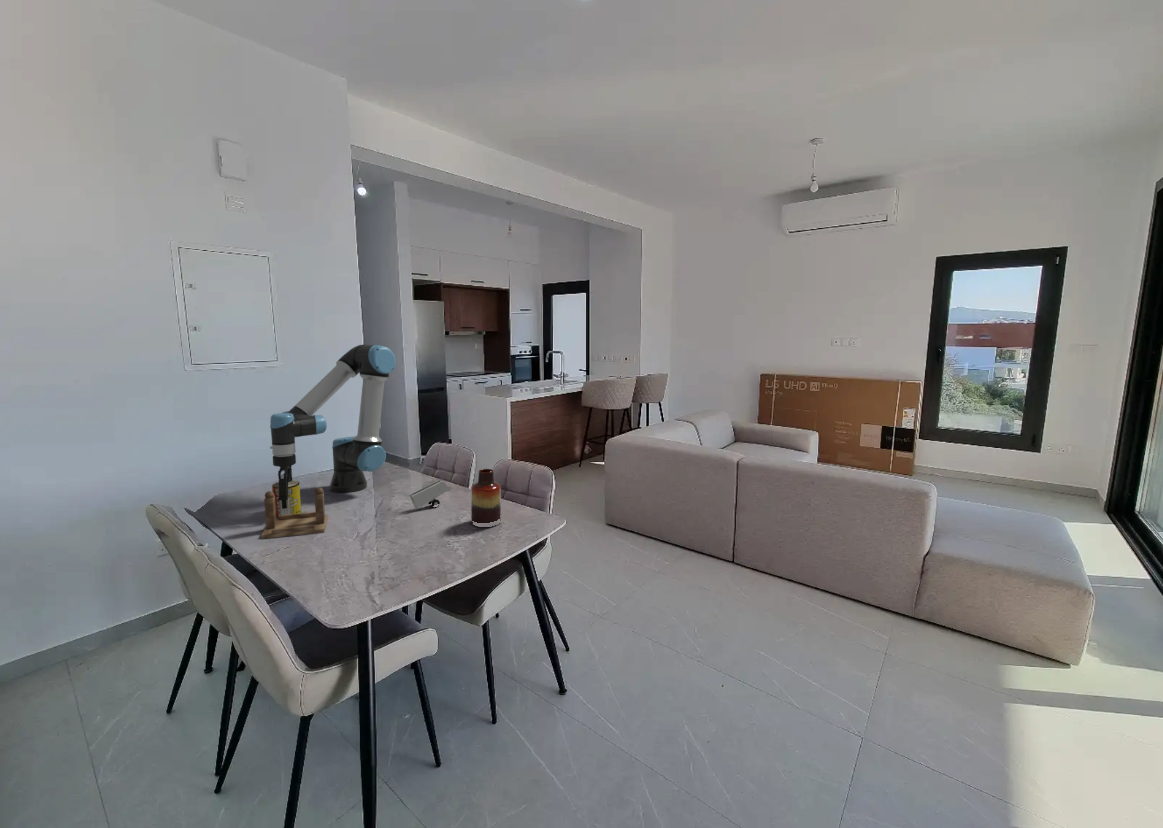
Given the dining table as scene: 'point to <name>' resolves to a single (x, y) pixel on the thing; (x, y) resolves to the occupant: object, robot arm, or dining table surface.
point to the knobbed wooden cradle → (294, 519)
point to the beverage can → (292, 496)
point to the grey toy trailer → (428, 494)
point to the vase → (485, 498)
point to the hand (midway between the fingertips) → (287, 511)
